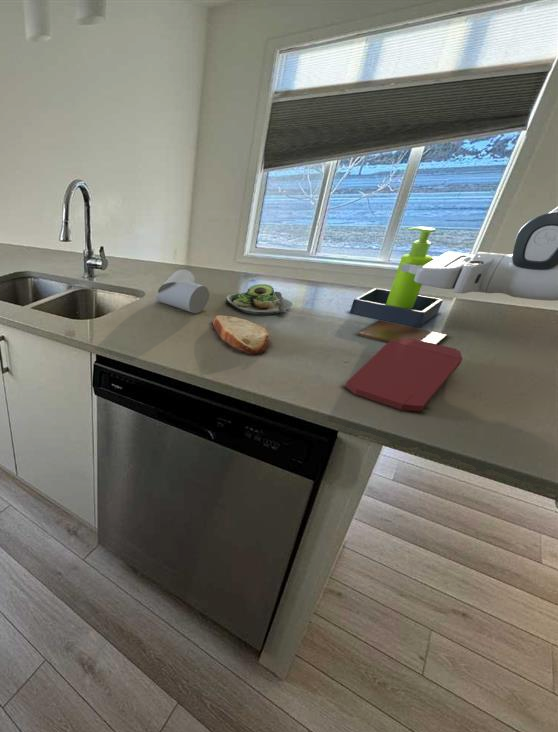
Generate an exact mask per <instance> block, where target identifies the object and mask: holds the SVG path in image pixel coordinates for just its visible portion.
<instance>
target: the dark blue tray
mask: <svg viewBox="0 0 558 732" xmlns="http://www.w3.org/2000/svg"><path fill="white" fill-rule="evenodd" d="M390 290H391V289H386V288H379V287H374V288H372V289H369V290H368V291H366V292H365V293H363V294H361V295H359V296H357V297H356V298H354V299H353V301H352V304H351V306H350V307H351V308H350V311H349V314H354V315H359V316H363V317H368V318H372V319H377V320H381V321H386V322H391V323H395V324H400V325H405V326H409V327H414V328H419V327H421V326H422V325H423V324H425V323H426V322H427V321H429V320H431V319H432V318H433V317H435V316H436V315H437V314H438V313H439V311H440V308H441V306H442V304H443V301H444V299H443V298H438V297H433V296H426V295H421V294H418V296H417V299H416V301H415V304H414V307H413V308H410V309H407V308H402V307H396V306H391V305H386V302H387V299H388V296H389V293H390Z"/></svg>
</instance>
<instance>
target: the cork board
mask: <svg viewBox="0 0 558 732" xmlns="http://www.w3.org/2000/svg"><path fill="white" fill-rule="evenodd" d="M357 336H361V337H365V338H369V339H373V340H377V341H379V342H385V343H388V342H389V341H392V340H396V339H401V338H407V339H408V338H411V339H415V340H419V341H424V342H428V343H433V344H437V345H440V343H441V342H443V340H445V339H446V338H447V337H448V334H446V333H442V332H438V331H437V332H436V331H432V330H428V329H424V328H423V329H422V328H419V327H414V326H409V325H404V324H400V323H395V322H390V321H386V320H381V319H378V320H377V321H375V322H374V323H372V324H370V325H369V326H368V327H366V328H364V329H363V330H361V331H360V332H358V334H357Z"/></svg>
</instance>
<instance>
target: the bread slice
mask: <svg viewBox="0 0 558 732" xmlns="http://www.w3.org/2000/svg"><path fill="white" fill-rule="evenodd" d="M212 324H213V328H214V330H215V331H216V333H217V334H218V336H219V337H220V339H221V340H222V342H223V341H224V343H227V345H228V346H230V347H232V348H233V349H235V350H236V351H238V352H241V353H245V354H248V355H258V354H259V355H260V354H263V353H265V351H266V350H267V349H268V347H269V346H270V345H271V341H272V340H271V337H270V334H269V332H268V330H267V329H266V328H264V327H263V326H262V325H260V324H258V323H254V322H252V321H250V320H248V319H245V318H241V317H237V316H232V315H230V316H229V315H223V314H222V315H216V317H215V318H214V320H213V322H212Z"/></svg>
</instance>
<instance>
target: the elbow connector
mask: <svg viewBox="0 0 558 732" xmlns="http://www.w3.org/2000/svg"><path fill="white" fill-rule="evenodd" d="M155 297H156V299H155V300H156V301H157V302H159V303H162V304H165V305H168V306H171V307H174V308H177V309H179V310H182V311H185V312H189V313H192V314H198V313H200V312H202V311H203V310H204V309H205V308H206V306H207V304H208V303H209V298H210V291H209V288H208V287H207V286H206V285H203V284H199V283H196V278H195V275H194V274H193V273H192V272H191V271H189V270H188V269H178V270H176V271H174V272H173V273H172V274H171V275H170V276H169V277H168V278H167V280H166V281H164V283H162V284H161V285H160V287H159V288H158V290H157V294H156V296H155Z"/></svg>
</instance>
